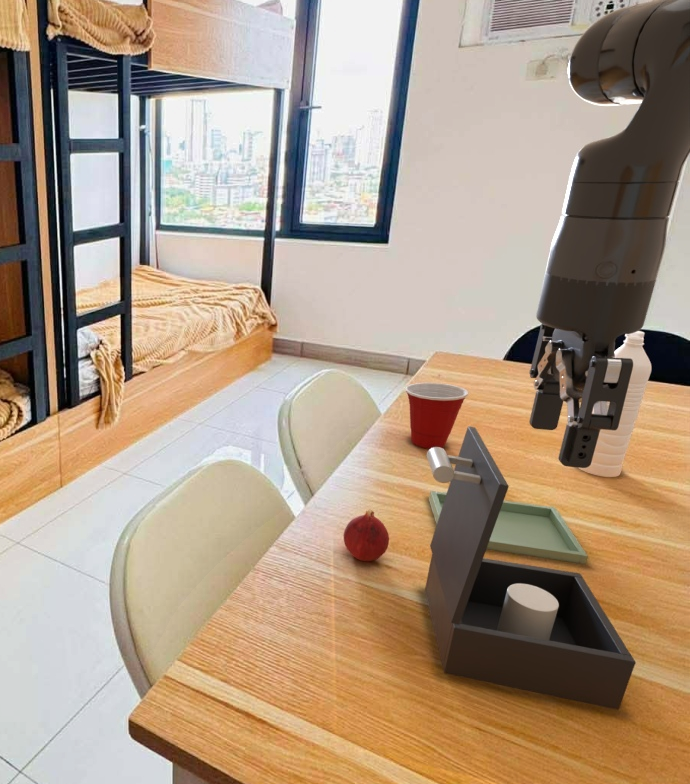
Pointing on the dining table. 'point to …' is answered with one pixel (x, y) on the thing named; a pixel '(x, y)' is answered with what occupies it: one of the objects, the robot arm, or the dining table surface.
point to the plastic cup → (433, 412)
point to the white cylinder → (528, 611)
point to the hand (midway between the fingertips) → (556, 445)
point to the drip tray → (528, 531)
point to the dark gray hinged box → (532, 655)
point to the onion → (366, 537)
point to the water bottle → (617, 441)
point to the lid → (464, 517)
